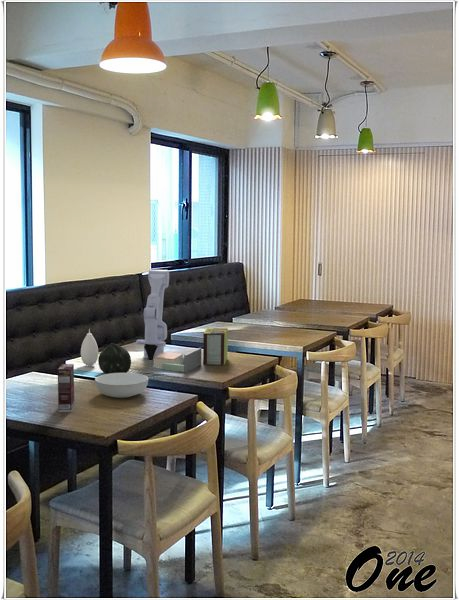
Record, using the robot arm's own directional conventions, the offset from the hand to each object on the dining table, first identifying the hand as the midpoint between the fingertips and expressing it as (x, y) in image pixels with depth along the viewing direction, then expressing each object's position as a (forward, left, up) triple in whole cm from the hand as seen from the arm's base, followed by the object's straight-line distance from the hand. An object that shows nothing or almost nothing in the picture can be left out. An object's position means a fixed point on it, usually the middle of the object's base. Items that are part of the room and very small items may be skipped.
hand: (150, 360), depth 316 cm
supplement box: (+5, -79, -2) cm, 79 cm away
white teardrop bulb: (-24, -16, -2) cm, 29 cm away
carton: (+9, 0, -2) cm, 9 cm away
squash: (-6, -24, -2) cm, 25 cm away
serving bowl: (+14, -54, -2) cm, 56 cm away
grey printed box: (+17, 0, -2) cm, 17 cm away
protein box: (+26, +18, -2) cm, 32 cm away
